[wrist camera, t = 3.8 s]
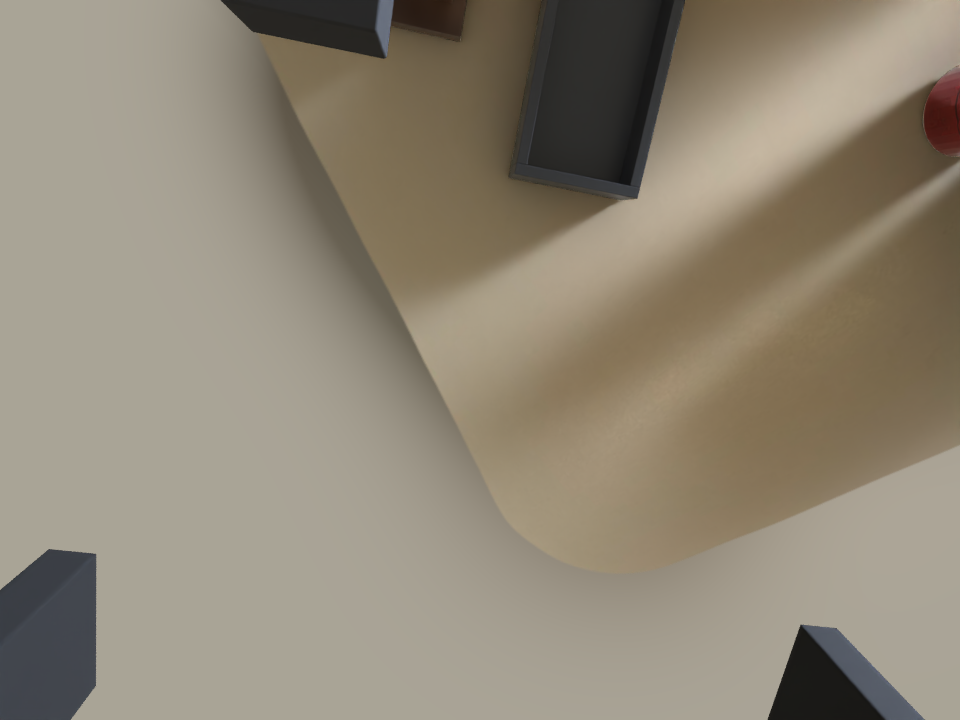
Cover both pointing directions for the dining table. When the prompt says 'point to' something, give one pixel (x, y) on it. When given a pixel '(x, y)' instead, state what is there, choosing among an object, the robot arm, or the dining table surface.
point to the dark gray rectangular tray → (594, 94)
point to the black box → (321, 22)
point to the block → (430, 17)
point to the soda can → (944, 114)
